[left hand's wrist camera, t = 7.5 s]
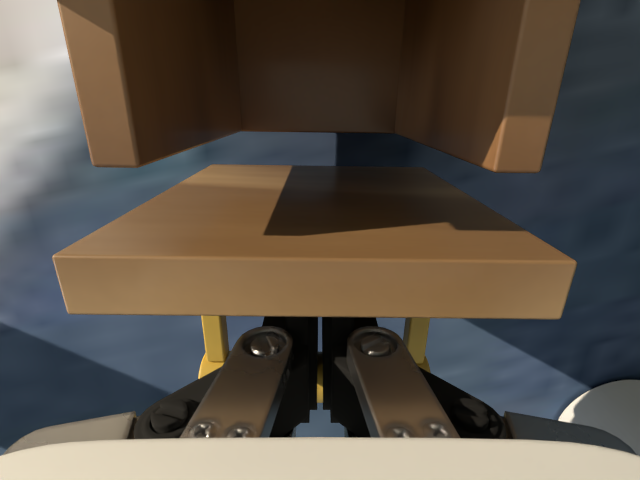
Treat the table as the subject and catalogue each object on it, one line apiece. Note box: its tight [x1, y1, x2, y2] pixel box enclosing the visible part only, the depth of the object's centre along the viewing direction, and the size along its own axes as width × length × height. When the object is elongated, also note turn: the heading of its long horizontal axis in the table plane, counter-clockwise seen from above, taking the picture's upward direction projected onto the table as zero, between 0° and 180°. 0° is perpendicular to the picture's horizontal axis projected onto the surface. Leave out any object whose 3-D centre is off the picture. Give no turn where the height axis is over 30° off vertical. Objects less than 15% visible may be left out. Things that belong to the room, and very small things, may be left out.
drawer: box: [52, 0, 581, 403], centre depth 9 cm, size 22×9×10 cm, turn 179°
